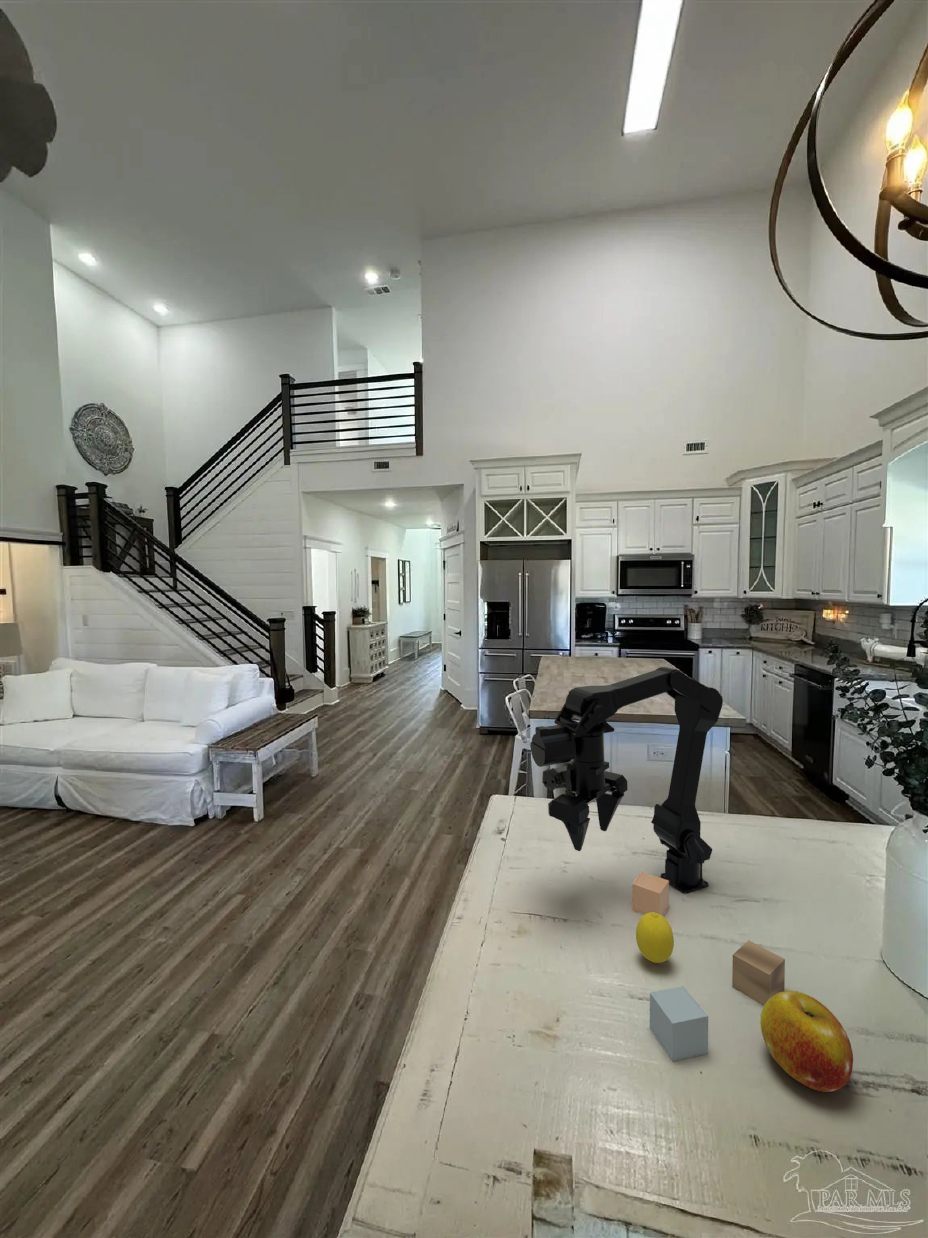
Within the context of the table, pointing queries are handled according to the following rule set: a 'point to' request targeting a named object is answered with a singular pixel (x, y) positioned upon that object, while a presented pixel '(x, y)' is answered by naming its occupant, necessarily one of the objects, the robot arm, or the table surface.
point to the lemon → (654, 937)
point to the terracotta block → (650, 894)
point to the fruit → (807, 1041)
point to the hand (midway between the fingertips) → (591, 840)
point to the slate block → (678, 1023)
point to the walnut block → (758, 972)
